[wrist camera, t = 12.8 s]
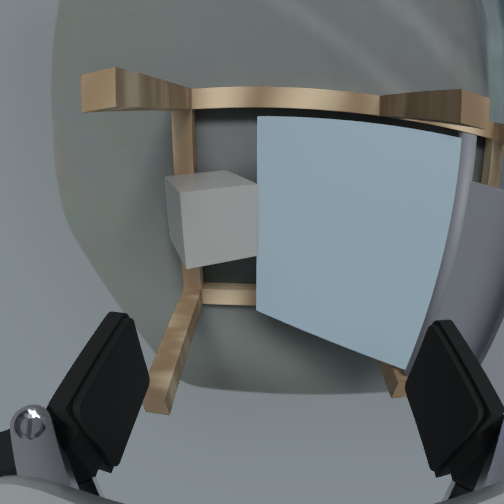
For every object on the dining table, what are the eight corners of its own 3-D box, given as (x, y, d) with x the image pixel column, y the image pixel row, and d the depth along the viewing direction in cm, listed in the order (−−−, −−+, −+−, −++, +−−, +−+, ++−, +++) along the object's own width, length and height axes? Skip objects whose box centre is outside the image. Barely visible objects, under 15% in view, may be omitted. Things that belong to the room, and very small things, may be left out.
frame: (497, 124, 21) (607, 153, 8) (464, 295, 29) (530, 380, 16) (175, 91, 22) (81, 75, 9) (188, 296, 30) (145, 411, 17)
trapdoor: (589, 174, 9) (621, 188, 5) (519, 373, 15) (518, 422, 11) (290, 112, 21) (245, 111, 17) (283, 292, 27) (247, 320, 23)
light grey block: (180, 192, 18) (164, 176, 23) (186, 269, 20) (169, 237, 25) (257, 184, 20) (226, 170, 25) (257, 255, 22) (227, 228, 27)
